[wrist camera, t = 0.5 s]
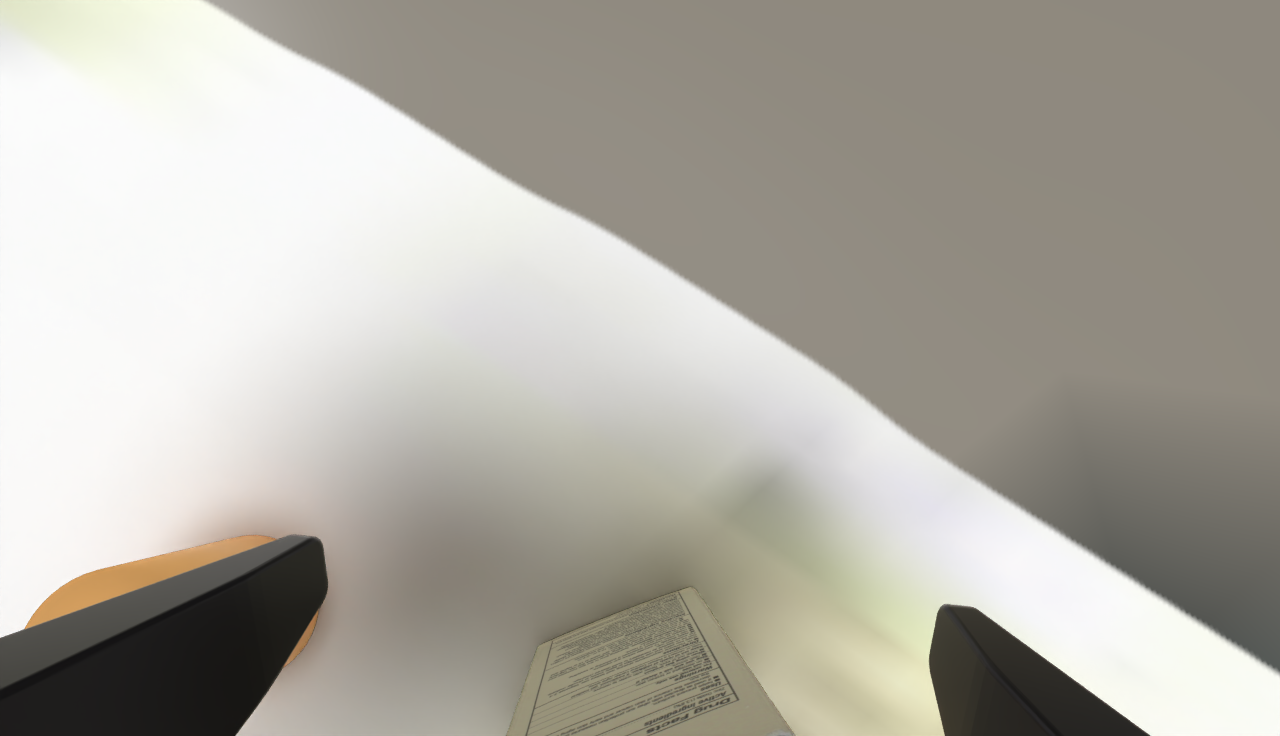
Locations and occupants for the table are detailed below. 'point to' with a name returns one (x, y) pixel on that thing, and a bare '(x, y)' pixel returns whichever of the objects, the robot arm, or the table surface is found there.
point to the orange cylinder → (146, 580)
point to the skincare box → (645, 678)
